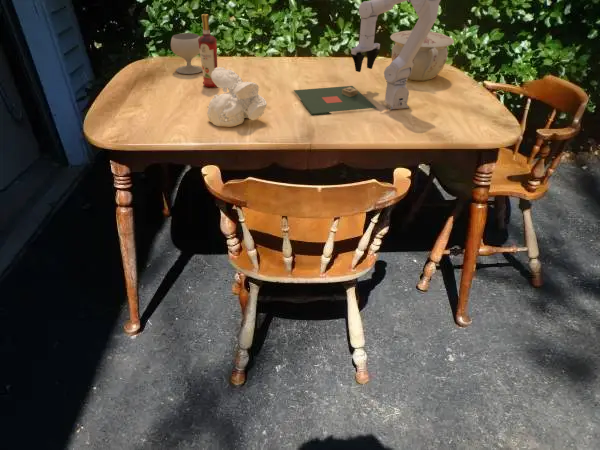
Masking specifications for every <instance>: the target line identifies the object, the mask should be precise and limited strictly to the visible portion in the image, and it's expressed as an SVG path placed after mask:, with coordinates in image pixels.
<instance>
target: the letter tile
mask: <svg viewBox="0 0 600 450" xmlns="http://www.w3.org/2000/svg"><path fill="white" fill-rule="evenodd" d="M354 88H355V87H354ZM354 88H351V87H348V88H345V89H342V94H343V95H346V96H348V97H351V96H355V95H357V94H358V91H359V89H357V88H355V89H354Z"/></svg>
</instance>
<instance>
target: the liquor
mask: <svg viewBox="0 0 600 450" xmlns="http://www.w3.org/2000/svg"><path fill="white" fill-rule="evenodd" d="M201 21H202V35H201V36H200V38H199V39H198V43H199V51H200V54H199V57H200V62H201V64H200V65H201V67H202V71H201V72H202V78H203V81H202V84H203V85H204V86H205V87H207V88H216V87H217V86H216V85H215V83H214V82H213V81H212V78H211V74H212V71H214V69H215V68H216V67H217V68H218V45H217V43H218V42H217V38H216V37H215V36H213V35H211V30H210V23H209V22H210V17H209V14H208V13H203V14H201Z"/></svg>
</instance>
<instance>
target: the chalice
mask: <svg viewBox="0 0 600 450" xmlns="http://www.w3.org/2000/svg"><path fill="white" fill-rule="evenodd" d="M200 37H201V36H200V35H199V34H197V33H193V32H187V33H186V32H183V33H182V32H181V33H176V34H173V35H172V36H171V39H170V50H171V51H172V53H173V54H174V55H176V56H178V57H180V58H182V59H184V61H185V62H186V65H181V66H178V67H177V68H176V69H175V71H176V73H179V74H183V75H193V74H198V73H201V72H203V71H202V66H199V65H195V64H194V65H193V64H192V60H193V59H194V58H195V57H197V56H198V55H200V51H199V43H198V39H199V38H200Z"/></svg>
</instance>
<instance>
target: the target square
mask: <svg viewBox="0 0 600 450" xmlns="http://www.w3.org/2000/svg"><path fill="white" fill-rule="evenodd" d="M322 98H323V100H324V101H325V102H326V103H336V102H342V101H341V100H340V99H339V98H338V97H337V96H333V97H322Z"/></svg>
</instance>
